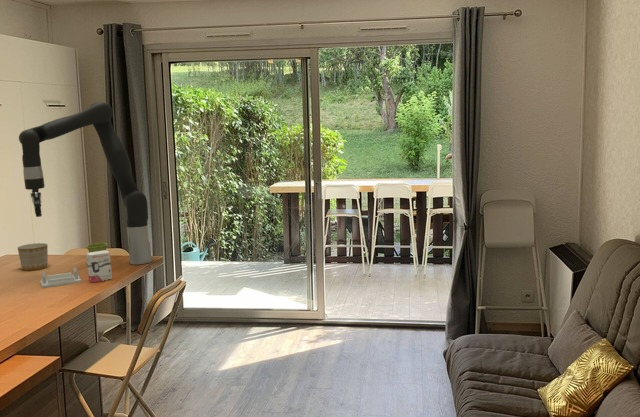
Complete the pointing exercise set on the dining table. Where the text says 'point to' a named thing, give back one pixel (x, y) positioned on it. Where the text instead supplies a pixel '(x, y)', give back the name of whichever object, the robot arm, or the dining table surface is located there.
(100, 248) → the plant pot
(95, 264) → the ink box
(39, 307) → the dining table surface
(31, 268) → the planter
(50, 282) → the white pegged base plate
